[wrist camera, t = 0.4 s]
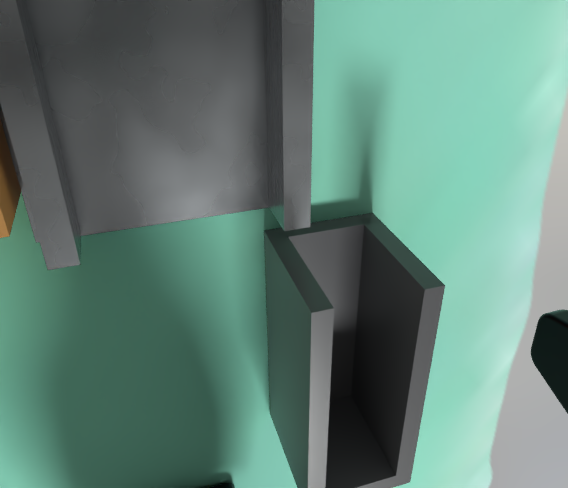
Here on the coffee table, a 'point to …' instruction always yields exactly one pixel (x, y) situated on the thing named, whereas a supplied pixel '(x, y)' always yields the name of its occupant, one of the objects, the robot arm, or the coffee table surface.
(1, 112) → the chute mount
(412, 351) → the chute
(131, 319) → the coffee table surface
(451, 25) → the coffee table surface
